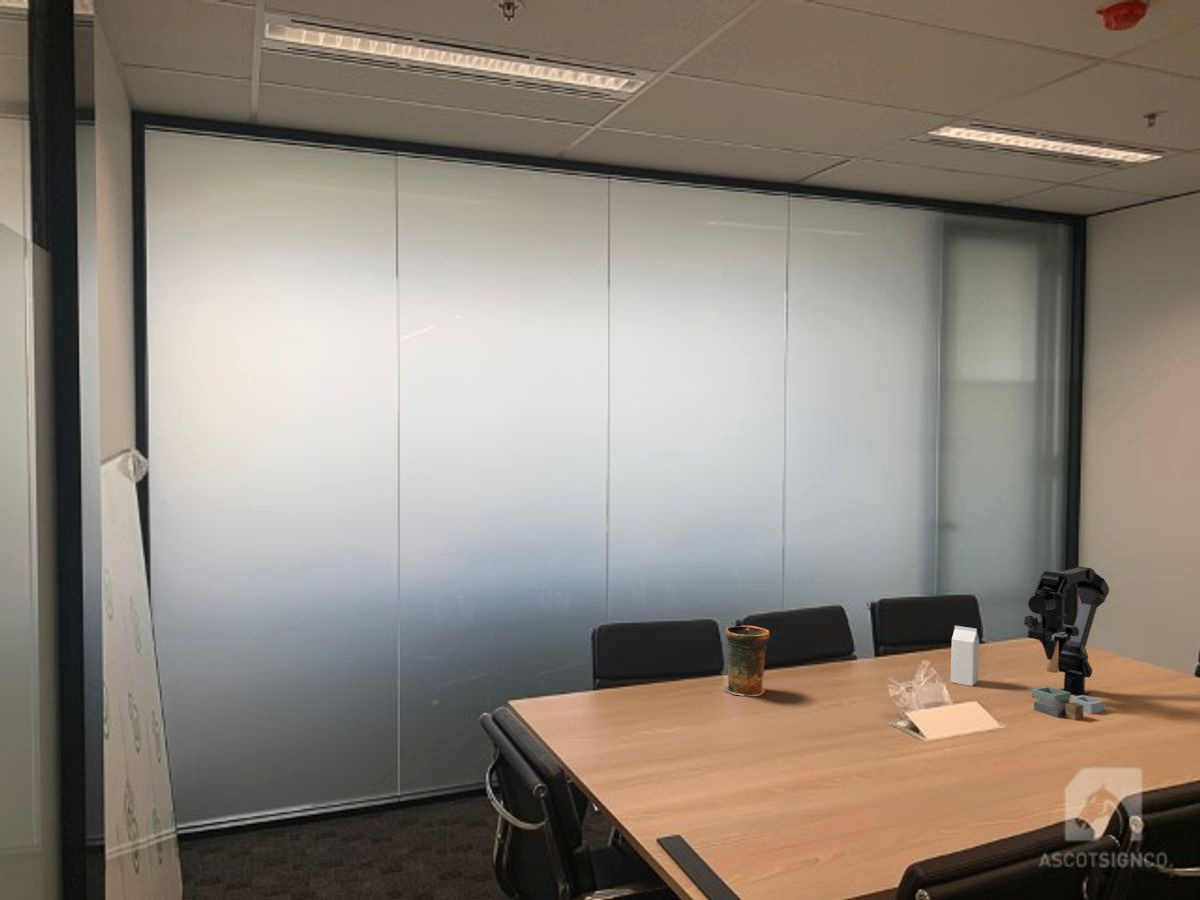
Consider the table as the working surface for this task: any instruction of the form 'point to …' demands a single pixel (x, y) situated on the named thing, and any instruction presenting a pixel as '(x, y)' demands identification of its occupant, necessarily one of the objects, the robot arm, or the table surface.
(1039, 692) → the tray
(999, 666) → the table surface
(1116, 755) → the table surface
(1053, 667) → the dowel
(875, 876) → the table surface
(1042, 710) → the grey slab
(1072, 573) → the robot arm
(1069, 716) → the block
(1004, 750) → the table surface
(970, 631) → the milk carton
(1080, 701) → the socket block
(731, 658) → the vessel
